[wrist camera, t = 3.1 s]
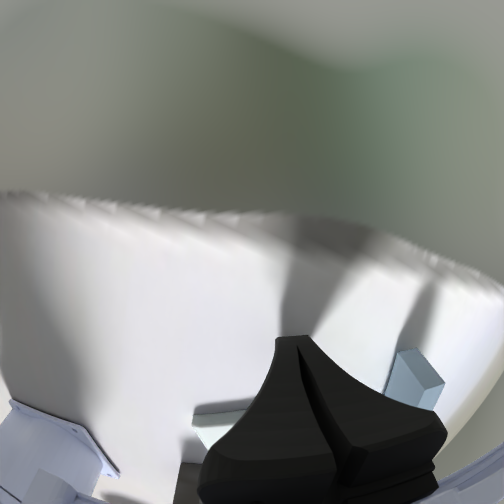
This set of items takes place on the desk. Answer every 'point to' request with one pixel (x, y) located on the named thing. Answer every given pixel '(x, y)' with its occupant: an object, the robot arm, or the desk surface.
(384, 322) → the desk surface
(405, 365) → the gate
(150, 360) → the desk surface
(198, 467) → the bay
